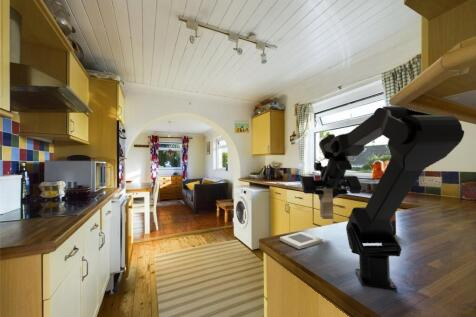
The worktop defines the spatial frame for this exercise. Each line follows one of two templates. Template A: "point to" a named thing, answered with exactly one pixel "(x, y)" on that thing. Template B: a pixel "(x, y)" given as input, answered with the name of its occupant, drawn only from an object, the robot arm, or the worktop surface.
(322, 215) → the wooden block
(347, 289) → the worktop surface
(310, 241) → the mat
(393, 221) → the battery
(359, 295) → the worktop surface
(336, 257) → the worktop surface
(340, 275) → the worktop surface
